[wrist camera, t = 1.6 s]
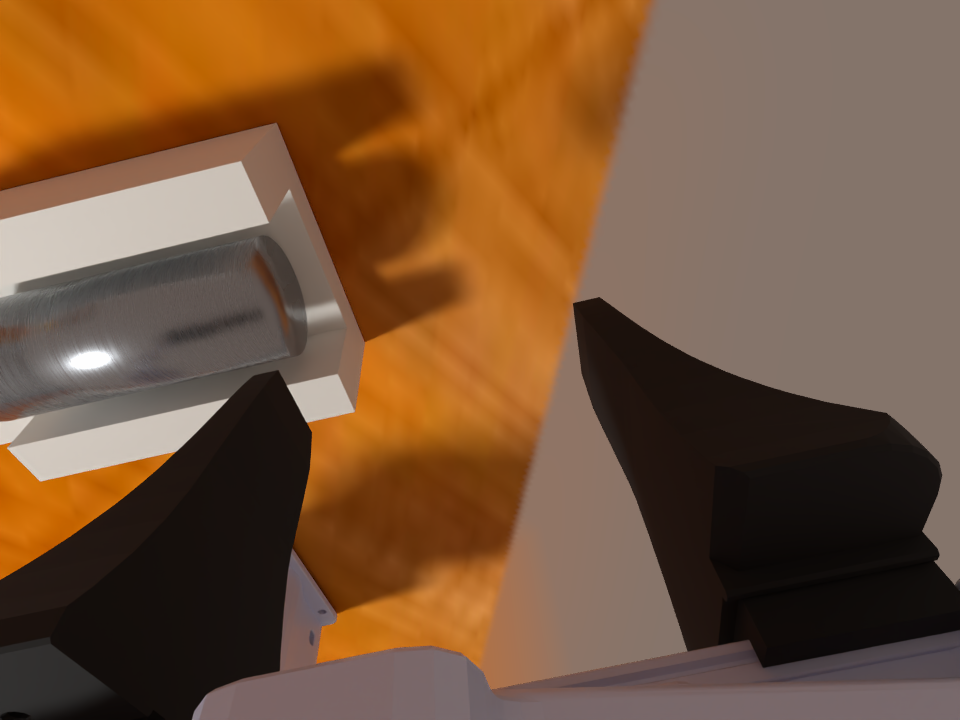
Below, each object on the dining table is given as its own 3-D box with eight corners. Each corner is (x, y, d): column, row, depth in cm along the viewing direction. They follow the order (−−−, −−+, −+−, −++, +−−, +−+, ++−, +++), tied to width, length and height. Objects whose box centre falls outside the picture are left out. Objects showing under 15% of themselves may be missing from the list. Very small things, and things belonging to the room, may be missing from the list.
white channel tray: (364, 342, 23) (354, 411, 20) (-74, 442, 24) (-161, 525, 21) (276, 122, 18) (240, 160, 15) (-277, 259, 19) (-442, 327, 15)
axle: (269, 216, 19) (237, 268, 15) (314, 316, 21) (294, 380, 18) (-9, 283, 19) (-99, 347, 16) (64, 374, 21) (0, 446, 18)
